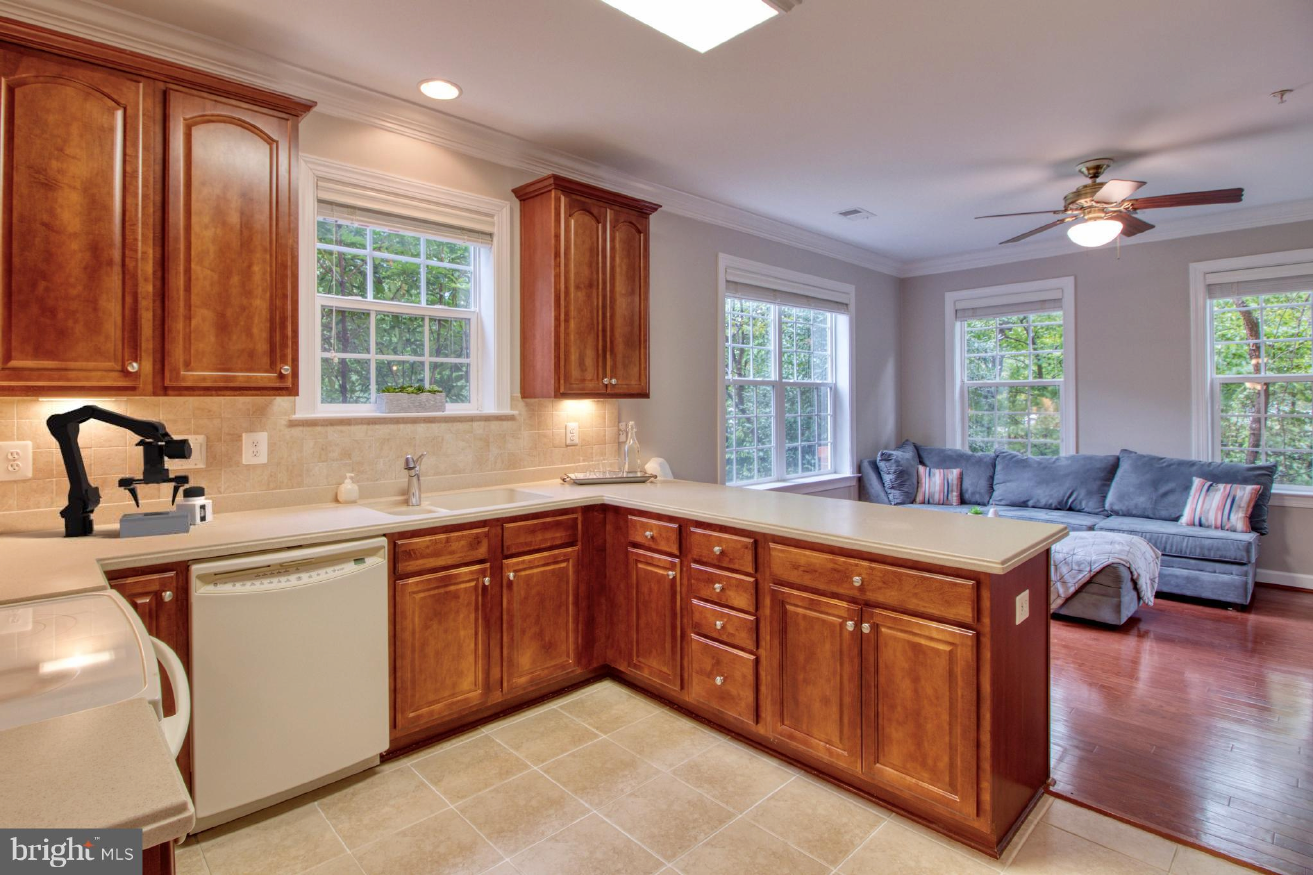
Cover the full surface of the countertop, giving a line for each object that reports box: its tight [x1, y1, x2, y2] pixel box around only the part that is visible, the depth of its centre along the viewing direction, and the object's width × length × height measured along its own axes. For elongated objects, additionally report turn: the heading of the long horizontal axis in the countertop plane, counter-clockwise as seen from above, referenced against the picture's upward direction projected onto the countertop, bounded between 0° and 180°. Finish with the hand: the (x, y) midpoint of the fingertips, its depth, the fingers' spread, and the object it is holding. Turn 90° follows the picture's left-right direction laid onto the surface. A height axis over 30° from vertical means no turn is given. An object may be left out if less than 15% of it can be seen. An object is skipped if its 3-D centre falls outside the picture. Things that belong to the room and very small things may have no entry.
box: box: [119, 509, 191, 539], centre depth 228 cm, size 18×12×6 cm, turn 122°
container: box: [175, 485, 213, 526], centre depth 245 cm, size 8×8×13 cm
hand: (155, 506), depth 227 cm, fingers open, 9 cm apart
